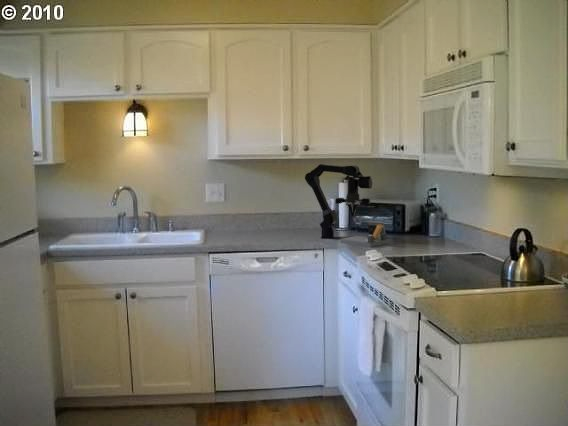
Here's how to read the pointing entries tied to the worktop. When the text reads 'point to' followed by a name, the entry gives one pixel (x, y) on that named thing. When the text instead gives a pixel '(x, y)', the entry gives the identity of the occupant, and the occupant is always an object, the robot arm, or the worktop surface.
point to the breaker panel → (366, 240)
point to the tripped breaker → (377, 231)
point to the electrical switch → (373, 225)
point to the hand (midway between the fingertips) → (352, 216)
